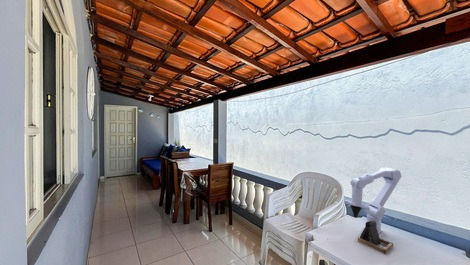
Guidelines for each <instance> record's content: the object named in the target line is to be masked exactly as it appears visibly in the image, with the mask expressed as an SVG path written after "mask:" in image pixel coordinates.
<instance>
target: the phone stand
mask: <svg viewBox="0 0 470 265" xmlns="http://www.w3.org/2000/svg"><path fill="white" fill-rule="evenodd" d="M372 221H373V220H372ZM372 221H369V222H367V221H366V222H365V224H364V225H365V226H364V227H363V230H362V232H361V234H360V236H359V237H358V238H361V239H363V240H365V241H368V242H370V243H372V244H374V245H377V246H379V245H381V244H382V243H381V242H380V238H381V237H380V235H379V234H378V231H377V228H376V225H377V224H376V222H375V221H374V222H372ZM369 234H370V237H371V238H369V237H368V236H369Z"/></svg>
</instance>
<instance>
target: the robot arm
mask: <svg viewBox="0 0 470 265" xmlns="http://www.w3.org/2000/svg"><path fill="white" fill-rule="evenodd" d="M380 178H382V179H383V181H385V183H384V185H383V186H382V188H381V189H380V191H379V193H378V195H377V196H376V197H375V199H374V200H373V201H370V202H368V204H366V205H365V204H363V192H364V191H363V190H364V189H365V188H366V186H367V185H369V184H372V183H373V182H374V181H375V180H378V179H380ZM401 178H402V173H401V171H400V170H399V169H394V168H390V167H385V166H383V167H380V168H379V170H377V171H374V172H373V173H372V174H370V173H369V174H368V173H364V175H362V176H359V177H354V178H352V179H351V181H350V185H351V189H352V190H351V200H350V199H344V200H343V203H344V204H348V205H349V206H350V209H351V211H352V214H353V217H354V218H355V219H357V218H358V217H359V213H360V212H361V210H362V209H363V211H364V213H365V215H366V222H369V221H372V220H373V221H372V222H374V221H375V222H376V224H377V225H376V228H377V231H378V235H379V234H380V233H382V232H383V229H382V219H383V218H384V217H385V212H386V210H385V208H384V206H385V204H386V203H387V201H388V200H389V198H390V196H391V195H392V193H393V191H394V190H395V189H396V187H397V185H398V183H399V182H400V180H401Z"/></svg>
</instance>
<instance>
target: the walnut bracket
mask: <svg viewBox="0 0 470 265" xmlns="http://www.w3.org/2000/svg"><path fill="white" fill-rule="evenodd" d="M368 237H369V238H371V237H370V234H369V236H368ZM379 238H380V242H381V244H383V245H385V244H386V245H385V247H384V248H383V247H381V246H379V245H374V244H372V243H370V242H368V241H365V240H363V239H361V238H359V237H357V242H358V243H360V244H362V245H364V246H367V247H369V248H371V249H373V250H376V251H378V252H380V253H382V254H384V255H386V254H387V253H389V251H390V250H392V248H393V247H394V242H391V241H389V240H387V239H384V238H381V237H379Z"/></svg>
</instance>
